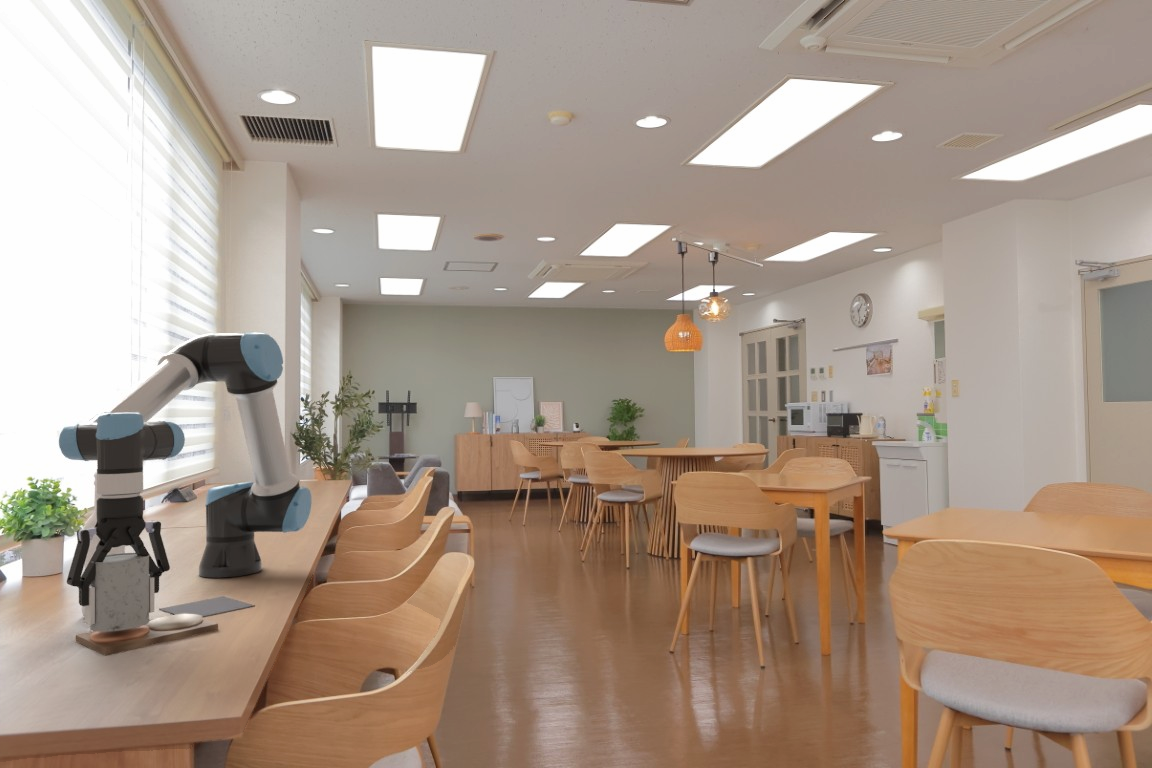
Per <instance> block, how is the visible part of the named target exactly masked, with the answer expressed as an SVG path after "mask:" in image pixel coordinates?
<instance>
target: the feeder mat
mask: <svg viewBox="0 0 1152 768" xmlns="http://www.w3.org/2000/svg"><path fill="white" fill-rule="evenodd" d="M255 606H256V605H255V604H252V603H248V602H245V601H241V600H238V599H234V598H230V597H227V596H218V597H211V598H208V599H203V600H195V601H193V602H186V603H183V604H176V605H171V606H165V607H162V608H159V611H162V612H165V613H168V614H170V615H173V614H174V615H175V614H180V613H188V614H198V615H201V616H202V617H203V618H206V617H210V616H214V615H215V616H216V615H218V614H224V613H229V612H233V611H234V612H235V611H239V610H244V609H246V608H252V607H255Z"/></svg>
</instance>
